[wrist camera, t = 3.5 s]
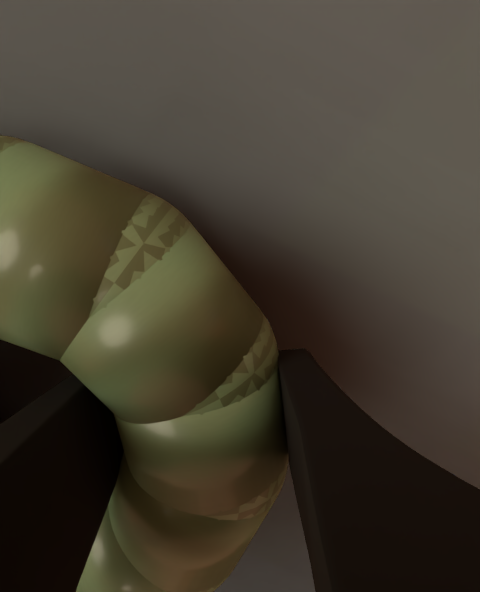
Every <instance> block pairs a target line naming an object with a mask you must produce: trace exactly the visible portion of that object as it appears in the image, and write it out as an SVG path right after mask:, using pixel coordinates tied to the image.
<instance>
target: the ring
mask: <svg viewBox="0 0 480 592" xmlns="http://www.w3.org/2000/svg"><path fill="white" fill-rule="evenodd" d="M0 339H1V340H4V341H6V342H9V343H12V344H15V345H17V346H20V347H23V348H26V349H29V350H31V351H34V352H37V353H40V354H43V355H45V356H48V357H51V358H54V359H56V360H59V361H61V362H62V363H63V364H64V365H65V366H66V367H67V368H68V369H69V370H70V371H71V372H72V373H73V374H74V375H75V376H76V377H77V378H78V379H79V380H80V381H81V382H82V383H83V384H84V385H85V386H86V387H87V388H88V389H89V390H90V391H91V392H92V393H93V394H94V395H95V396H96V397H97V398H98V399H99V400H100V401H101V402H102V403H103V404H105V405H106V406H107V407H108V408H109V409H110V410H111V411H112V412H113V413H114V417H115V420H116V424H117V427H118V431H119V435H120V438H121V442H122V446H123V449H124V453H123V456H122V459H121V463H120V468H119V473H118V478H117V482H116V485H115V488H114V490H113V493H112V496H111V499H110V501H109V504H108V507H107V509H106V512H105V515H104V517H103V520H102V523H101V525H100V528H99V531H98V533H97V536H96V539H95V541H94V544H93V546H92V549H91V552H90V554H89V557H88V560H87V562H86V565H85V567H84V570H83V573H82V575H81V578H80V581H79V584H78V587H77V590H76V592H213V591H214V590H216V589H217V588H218V587H219V586H220V585H221V584H222V583H223V582H224V581H225V580H226V579H227V577H228V576H229V575H230V574H231V572H232V571H233V570H234V568H235V566H236V565H237V563H238V561H239V560H240V558H241V556H242V555H243V553H244V551H245V550H246V548H247V546H248V545H249V543H250V542H251V540H252V538H253V537H254V535H255V533H256V532H257V530H258V528H259V527H260V525H261V523H262V522H263V520H264V518H265V517H266V515H267V513H268V512H269V510H270V508H271V507H272V505H273V503H274V502H275V500H276V498H277V497H278V495H279V493H280V491H281V489H282V486H283V483H284V480H285V476H286V472H287V468H288V446H287V437H286V428H285V419H284V410H283V401H282V392H281V382H280V373H279V364H278V356H279V352H278V346H277V342H276V339H275V336H274V333H273V331H272V329H271V326H270V324H269V322H268V320H267V318H266V317H265V316H264V314H263V313H262V311H261V310H260V308H259V307H258V306H257V305H256V303H255V302H254V301H253V300H252V298H251V297H250V296H249V295H248V294H247V292H246V291H245V290H244V289H243V287H242V286H241V285H240V284H239V282H238V281H237V280H236V279H235V277H234V276H233V275H232V274H231V272H230V271H229V270H228V269H227V267H226V266H225V265H224V264H223V262H222V261H221V260H220V259H219V257H218V256H217V255H216V254H215V252H214V251H213V250H212V249H211V247H210V246H209V245H208V244H207V242H206V241H205V240H204V239H203V237H202V236H201V235H200V234H199V232H198V231H197V230H196V229H195V227H194V226H193V225H192V224H191V222H190V221H189V220H188V219H187V218H186V217H185V216H184V215H183V214H182V213H181V212H180V211H179V210H178V209H176V208H175V207H174V206H172V205H171V204H170V203H169V202H167V201H165V200H163V199H162V198H160V197H157V196H156V195H154V194H152V193H150V192H147V191H145V190H142V189H140V188H138V187H135V186H133V185H130V184H128V183H126V182H123V181H121V180H119V179H116V178H114V177H111V176H109V175H107V174H104V173H102V172H100V171H97V170H95V169H92V168H90V167H88V166H85V165H83V164H81V163H78V162H76V161H73V160H71V159H69V158H66V157H64V156H61V155H59V154H57V153H54V152H52V151H50V150H47V149H45V148H42V147H40V146H38V145H35V144H33V143H30V142H27V141H24V140H22V139H19V138H14V137H9V136H2V135H0Z"/></svg>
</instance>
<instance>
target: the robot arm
mask: <svg viewBox="0 0 480 592" xmlns="http://www.w3.org/2000/svg"><path fill="white" fill-rule="evenodd" d="M278 352H279V356H278V364H279V373H280V382H281V392H282V401H283V410H284V419H285V428H286V437H287V446H288V456H289V465H290V470H291V475H292V480H293V484H294V489H295V494H296V498H297V503H298V508H299V512H300V517H301V521H302V526H303V531H304V535H305V540H306V544H307V549H308V554H309V558H310V563H311V568H312V574H313V579H314V585H315V591H316V592H480V489H478V488H476V487H474V486H472V485H471V484H469V483H467V482H465V481H463V480H461V479H460V478H458V477H456V476H455V475H453V474H451V473H450V472H448V471H446V470H445V469H443V468H441V467H440V466H438V465H436V464H435V463H433V462H431V461H430V460H428V459H426V458H425V457H423V456H422V455H420V454H419V453H417V452H416V451H414V450H413V449H411V448H410V447H408V446H407V445H405V444H404V443H403V442H401V441H400V440H399V439H397V438H396V437H394V436H393V435H392V434H390V433H389V432H388V431H387V430H385V429H384V428H383V427H382V426H380V425H379V424H378V423H377V422H375V421H374V420H373V419H372V418H371V417H370V416H369V415H367V414H366V413H365V412H364V411H363V410H362V409H361V408H360V407H358V406H357V405H356V404H355V403H354V402H353V401H352V400H351V399H350V398H349V397H348V396H347V395H346V394H345V393H344V392H343V391H342V390H341V389H340V388H339V387H338V386H337V385H336V384H335V383H334V382H333V381H332V379H331V378H330V377H329V376H328V375H327V374H326V373H325V371H324V370H323V369H322V368H321V367H320V366H319V364H318V363H317V362H316V360H315V359H314V358H313V356H312V355H311V353H310V352H309V351H307V350H306V349H305V348H302V349H292V350H282V351H278ZM123 452H124V449H123V446H122V442H121V438H120V435H119V431H118V427H117V424H116V420H115V417H114V413H113V412H112V411H111V410H110V409H109V408H108V407H107V406H106V405H105V404H103V403H102V402H101V401H100V400H99V399H98V398H97V397H96V396H95V395H94V394H93V393H92V392H91V391H90V390H89V389H88V388H87V387H86V386H85V385H84V384H83V383H82V382H81V381H80V380H79V379H78V378H77V377H76V376H75V375H74V374H73V375H72V376H70V377H68V378H67V379H65V380H64V381H62V382H61V383H59V384H58V385H56V386H55V387H53V388H52V389H50V390H49V391H47V392H46V393H45V394H43V395H42V396H40V397H39V398H37V399H36V400H35V401H33V402H32V403H30V404H29V405H27V406H26V407H25V408H23V409H22V410H20V411H19V412H17V413H16V414H14V415H13V416H12V417H10V418H9V419H7V420H6V421H4V422H3V423H1V424H0V592H76V590H77V587H78V584H79V581H80V578H81V575H82V573H83V570H84V567H85V565H86V562H87V560H88V557H89V554H90V552H91V549H92V546H93V544H94V541H95V539H96V536H97V533H98V531H99V528H100V525H101V523H102V520H103V517H104V515H105V512H106V509H107V507H108V504H109V501H110V499H111V496H112V493H113V490H114V488H115V485H116V482H117V478H118V473H119V468H120V463H121V459H122V456H123Z"/></svg>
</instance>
